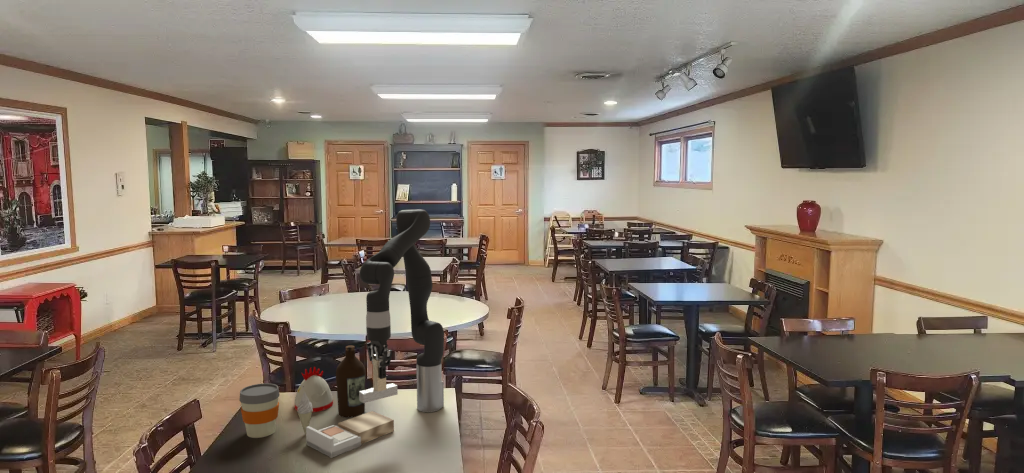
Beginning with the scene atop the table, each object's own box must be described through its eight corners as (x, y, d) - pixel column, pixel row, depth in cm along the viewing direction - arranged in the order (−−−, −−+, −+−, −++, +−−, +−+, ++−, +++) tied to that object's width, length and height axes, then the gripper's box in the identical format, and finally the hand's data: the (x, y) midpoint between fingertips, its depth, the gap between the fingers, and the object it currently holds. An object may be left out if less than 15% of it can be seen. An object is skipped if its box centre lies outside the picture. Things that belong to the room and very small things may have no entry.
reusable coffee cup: (266, 441, 200) (265, 397, 198) (232, 438, 202) (230, 394, 201) (288, 426, 212) (286, 384, 210) (255, 423, 214) (254, 381, 213)
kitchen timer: (289, 404, 232) (287, 366, 230) (324, 396, 241) (322, 359, 239) (303, 415, 221) (301, 375, 220) (338, 406, 230) (337, 368, 229)
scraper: (359, 400, 194) (358, 360, 193) (393, 391, 202) (392, 353, 200) (364, 404, 191) (363, 363, 190) (399, 395, 198) (398, 356, 197)
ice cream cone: (297, 438, 202) (295, 394, 201) (298, 431, 207) (297, 389, 206) (313, 436, 204) (311, 393, 202) (314, 430, 208) (312, 387, 207)
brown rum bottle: (331, 412, 224) (329, 346, 222) (357, 405, 231) (355, 340, 229) (345, 421, 217) (344, 352, 214) (371, 413, 224) (370, 346, 221)
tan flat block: (372, 421, 216) (372, 411, 215) (393, 431, 208) (393, 419, 208) (338, 434, 205) (338, 423, 205) (359, 444, 197) (359, 432, 197)
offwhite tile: (344, 437, 200) (344, 431, 200) (353, 441, 197) (353, 435, 196) (331, 442, 196) (331, 436, 196) (340, 446, 193) (340, 440, 193)
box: (336, 433, 206) (335, 416, 205) (360, 445, 197) (360, 428, 196) (306, 444, 197) (306, 426, 197) (331, 457, 188) (330, 439, 188)
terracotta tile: (335, 432, 203) (335, 426, 203) (344, 436, 200) (344, 430, 200) (322, 437, 200) (322, 431, 199) (331, 441, 196) (330, 435, 196)
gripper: (399, 326, 190) (401, 380, 192) (378, 318, 201) (380, 368, 203) (377, 330, 186) (379, 385, 187) (357, 321, 196) (359, 373, 198)
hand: (379, 376), depth 195 cm, fingers closed on scraper, 3 cm apart
